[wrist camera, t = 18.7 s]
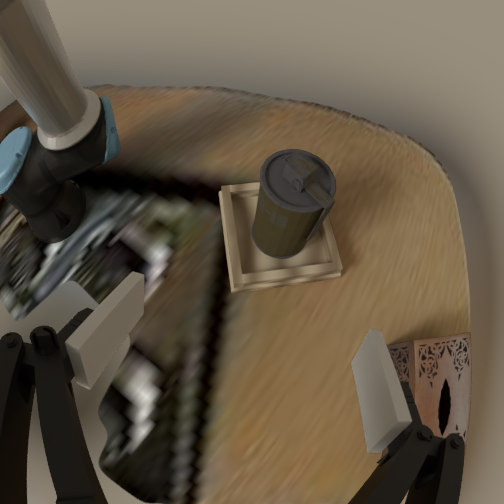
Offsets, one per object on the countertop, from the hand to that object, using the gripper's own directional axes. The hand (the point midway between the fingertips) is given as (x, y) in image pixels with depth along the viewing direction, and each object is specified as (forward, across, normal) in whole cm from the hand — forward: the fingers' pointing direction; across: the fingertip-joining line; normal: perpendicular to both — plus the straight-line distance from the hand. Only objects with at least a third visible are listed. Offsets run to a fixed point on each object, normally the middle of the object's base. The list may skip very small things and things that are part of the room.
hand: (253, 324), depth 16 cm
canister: (+38, +2, -8) cm, 39 cm away
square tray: (+39, +2, -8) cm, 40 cm away
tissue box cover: (+20, +37, -28) cm, 50 cm away
